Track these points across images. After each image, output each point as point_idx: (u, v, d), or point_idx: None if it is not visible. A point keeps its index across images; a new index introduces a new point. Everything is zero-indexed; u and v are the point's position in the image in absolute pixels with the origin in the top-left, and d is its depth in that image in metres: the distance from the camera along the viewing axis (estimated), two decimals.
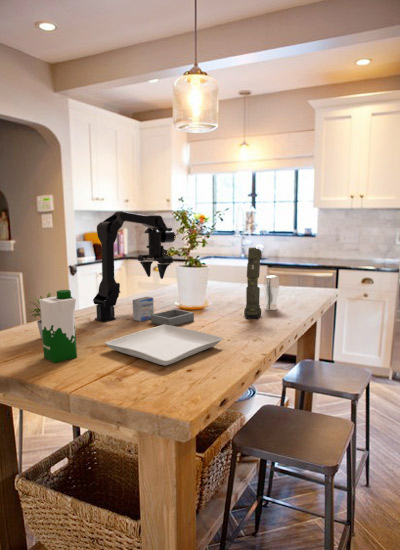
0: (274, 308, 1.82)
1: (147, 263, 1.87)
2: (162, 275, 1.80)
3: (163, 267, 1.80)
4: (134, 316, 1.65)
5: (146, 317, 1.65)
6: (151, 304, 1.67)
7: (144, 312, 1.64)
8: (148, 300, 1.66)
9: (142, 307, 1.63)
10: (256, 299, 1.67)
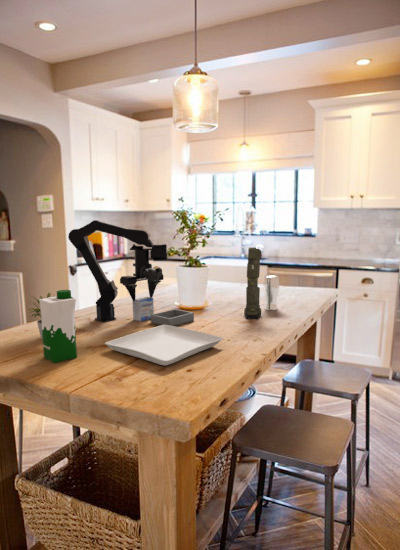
0: (274, 308, 1.82)
1: (151, 282, 1.69)
2: (132, 297, 1.62)
3: (131, 288, 1.61)
4: (134, 316, 1.65)
5: (146, 317, 1.65)
6: (151, 304, 1.67)
7: (144, 312, 1.64)
8: (148, 300, 1.66)
9: (142, 307, 1.63)
10: (256, 299, 1.67)
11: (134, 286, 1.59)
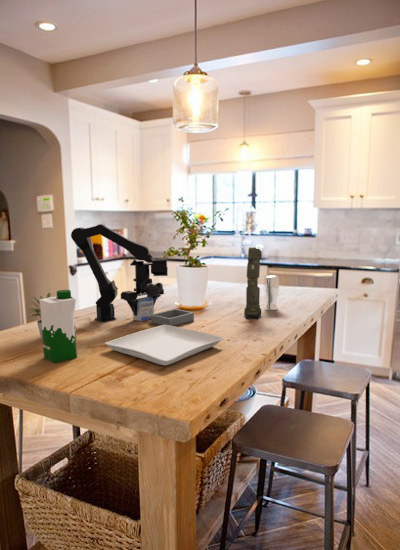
0: (274, 308, 1.82)
1: None
2: (134, 312, 1.63)
3: (132, 303, 1.62)
4: (134, 316, 1.65)
5: (146, 317, 1.65)
6: (151, 304, 1.67)
7: (144, 312, 1.64)
8: (148, 300, 1.66)
9: (142, 307, 1.63)
10: (256, 299, 1.67)
11: (135, 301, 1.60)
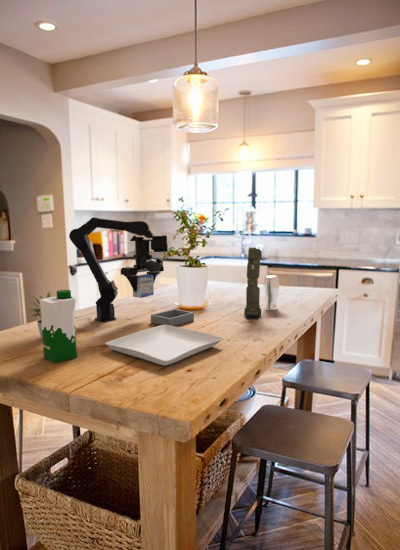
0: (274, 308, 1.82)
1: None
2: (133, 288, 1.62)
3: (132, 279, 1.61)
4: (133, 292, 1.63)
5: (146, 294, 1.64)
6: (151, 281, 1.66)
7: (144, 289, 1.63)
8: (148, 277, 1.64)
9: (142, 283, 1.62)
10: (256, 299, 1.67)
11: (136, 277, 1.59)
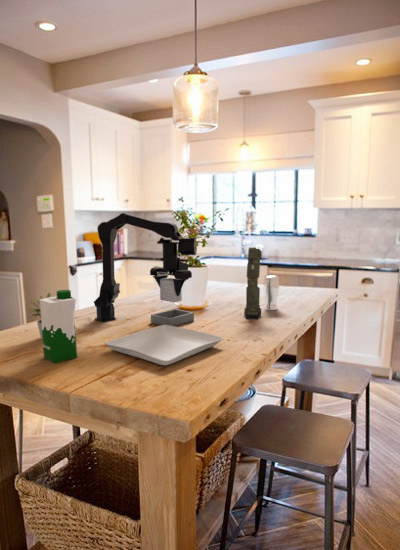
0: (274, 308, 1.82)
1: (162, 278, 1.62)
2: (178, 292, 1.57)
3: (180, 282, 1.56)
4: (175, 298, 1.57)
5: None
6: None
7: None
8: None
9: None
10: (256, 299, 1.67)
11: None
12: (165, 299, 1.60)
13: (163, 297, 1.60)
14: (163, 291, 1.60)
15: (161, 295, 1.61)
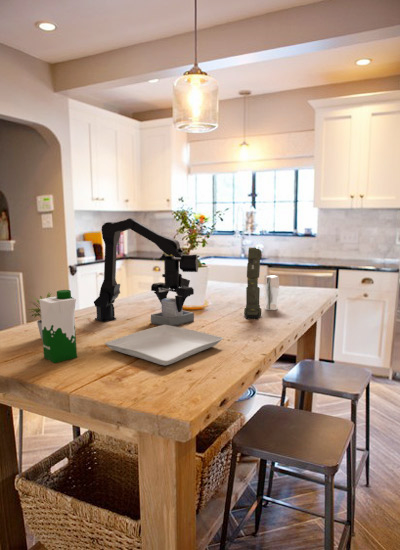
0: (274, 308, 1.82)
1: (163, 293, 1.63)
2: (180, 308, 1.58)
3: (181, 299, 1.57)
4: None
5: None
6: None
7: None
8: None
9: None
10: (256, 299, 1.67)
11: None
12: None
13: None
14: (165, 311, 1.61)
15: (162, 315, 1.62)
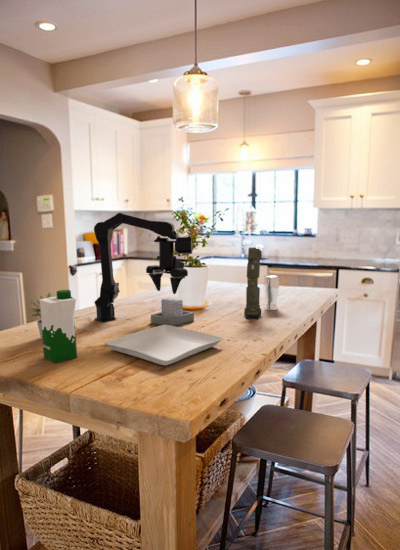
0: (274, 308, 1.82)
1: (157, 276, 1.65)
2: (175, 290, 1.59)
3: (176, 281, 1.58)
4: None
5: None
6: None
7: None
8: None
9: None
10: (256, 299, 1.67)
11: None
12: None
13: None
14: (165, 311, 1.61)
15: (162, 315, 1.62)
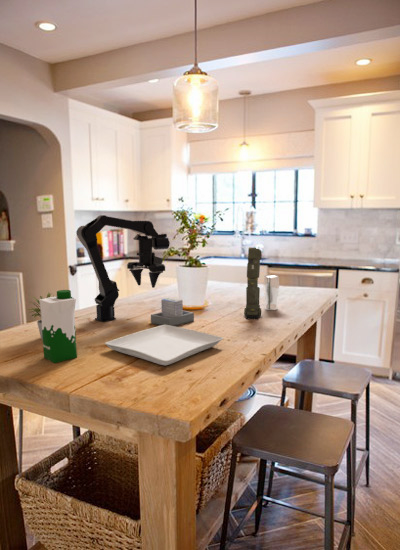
0: (274, 308, 1.82)
1: (137, 271, 1.77)
2: (154, 284, 1.71)
3: (155, 275, 1.70)
4: None
5: None
6: None
7: None
8: None
9: None
10: (256, 299, 1.67)
11: None
12: None
13: None
14: (165, 311, 1.61)
15: (162, 315, 1.62)
